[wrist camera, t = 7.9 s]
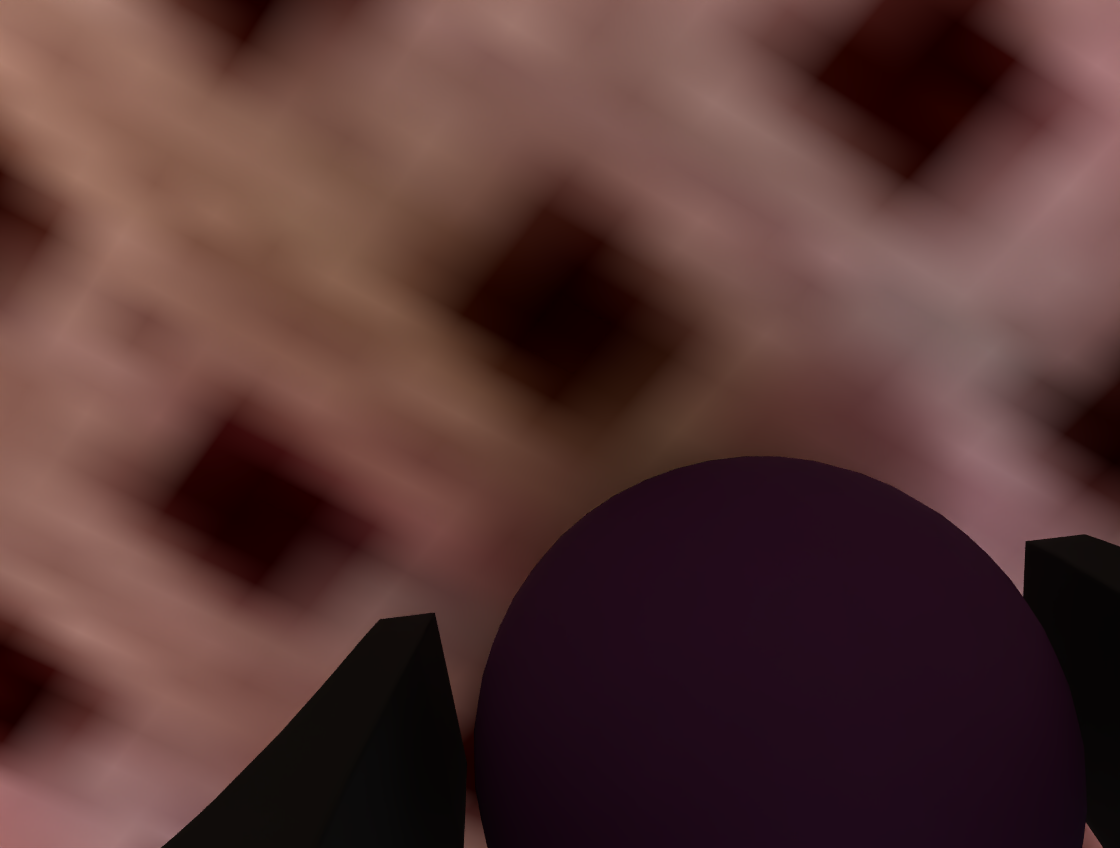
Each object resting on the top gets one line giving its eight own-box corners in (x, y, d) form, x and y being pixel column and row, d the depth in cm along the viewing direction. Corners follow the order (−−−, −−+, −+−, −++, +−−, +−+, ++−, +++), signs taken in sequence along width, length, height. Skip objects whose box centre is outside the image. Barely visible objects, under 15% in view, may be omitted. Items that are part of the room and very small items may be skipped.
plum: (1027, 570, 12) (1397, 971, 7) (706, 835, 13) (820, 1329, 8) (714, 276, 10) (899, 514, 5) (390, 610, 12) (293, 1047, 7)
